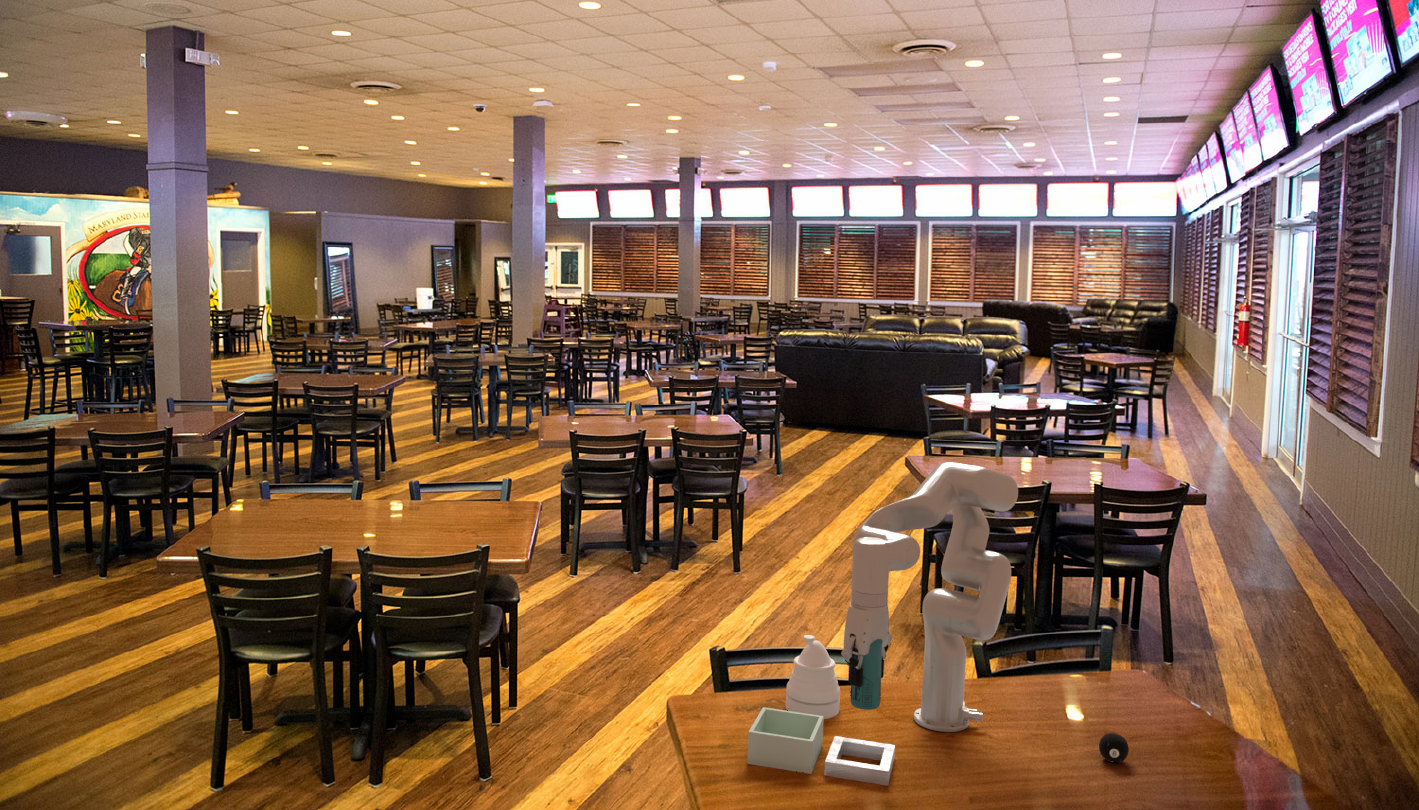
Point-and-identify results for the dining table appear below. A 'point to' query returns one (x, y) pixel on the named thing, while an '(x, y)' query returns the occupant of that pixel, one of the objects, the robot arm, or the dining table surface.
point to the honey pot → (813, 682)
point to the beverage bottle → (869, 679)
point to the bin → (785, 740)
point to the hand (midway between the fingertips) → (865, 680)
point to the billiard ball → (1113, 747)
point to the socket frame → (856, 769)
